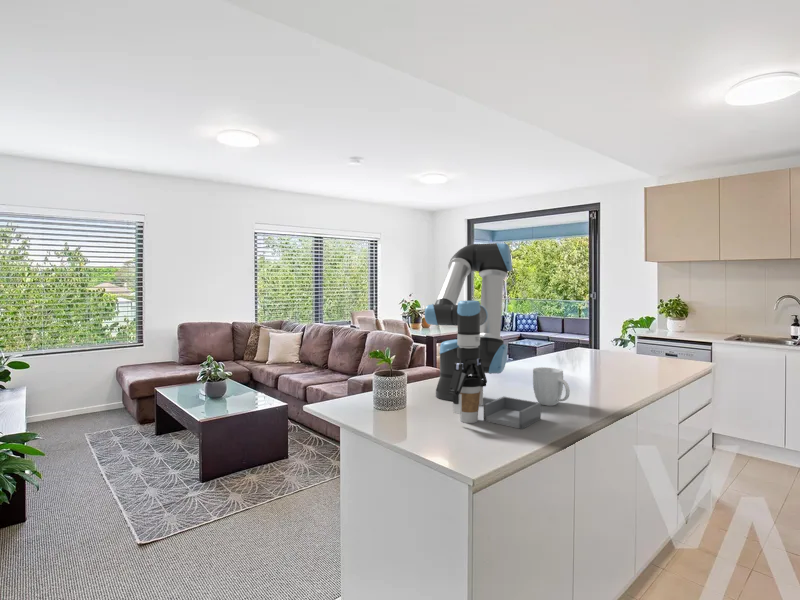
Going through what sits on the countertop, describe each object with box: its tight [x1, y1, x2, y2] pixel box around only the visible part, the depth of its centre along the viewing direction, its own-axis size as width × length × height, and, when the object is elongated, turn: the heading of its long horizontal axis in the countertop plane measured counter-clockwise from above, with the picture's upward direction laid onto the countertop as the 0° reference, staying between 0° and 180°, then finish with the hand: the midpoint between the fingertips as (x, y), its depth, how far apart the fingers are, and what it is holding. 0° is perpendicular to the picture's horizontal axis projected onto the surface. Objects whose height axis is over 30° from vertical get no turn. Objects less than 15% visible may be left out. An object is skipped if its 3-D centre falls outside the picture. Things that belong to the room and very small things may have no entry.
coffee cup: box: [459, 375, 481, 424], centre depth 155 cm, size 8×8×15 cm
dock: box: [483, 396, 542, 430], centre depth 156 cm, size 14×14×6 cm
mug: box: [532, 366, 571, 407], centre depth 174 cm, size 15×11×13 cm
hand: (468, 409), depth 155 cm, fingers open, 13 cm apart
